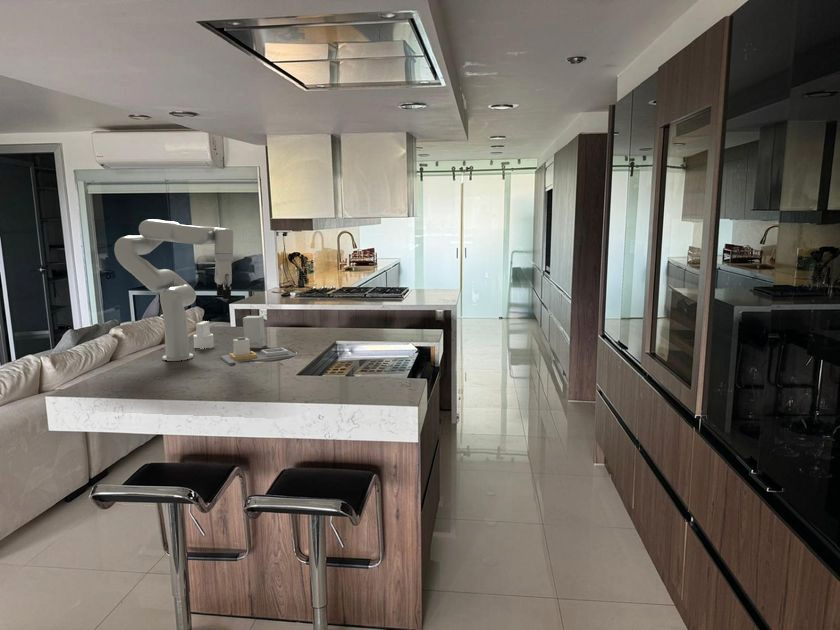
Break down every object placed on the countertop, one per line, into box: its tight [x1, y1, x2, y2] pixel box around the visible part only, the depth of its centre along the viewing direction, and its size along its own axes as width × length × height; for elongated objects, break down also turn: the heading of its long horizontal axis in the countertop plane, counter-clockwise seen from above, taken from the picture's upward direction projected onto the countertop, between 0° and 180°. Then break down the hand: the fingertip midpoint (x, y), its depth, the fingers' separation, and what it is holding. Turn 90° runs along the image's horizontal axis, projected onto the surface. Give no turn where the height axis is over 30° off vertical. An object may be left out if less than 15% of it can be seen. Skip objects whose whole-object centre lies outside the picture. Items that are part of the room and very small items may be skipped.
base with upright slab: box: [193, 320, 215, 350], centre depth 276 cm, size 9×9×12 cm
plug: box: [232, 336, 251, 356], centre depth 250 cm, size 4×6×9 cm, turn 123°
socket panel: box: [219, 347, 298, 366], centre depth 255 cm, size 16×30×2 cm, turn 122°
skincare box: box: [242, 315, 266, 349], centre depth 273 cm, size 8×7×16 cm
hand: (223, 297), depth 245 cm, fingers open, 9 cm apart
